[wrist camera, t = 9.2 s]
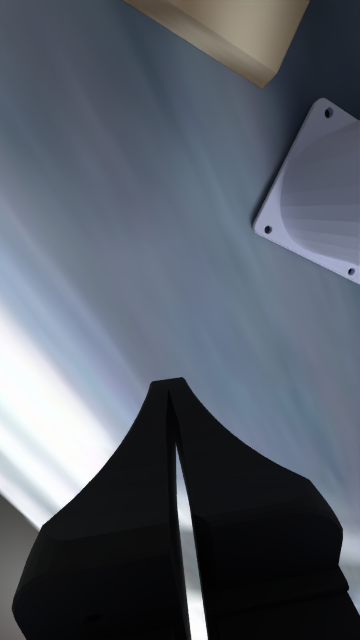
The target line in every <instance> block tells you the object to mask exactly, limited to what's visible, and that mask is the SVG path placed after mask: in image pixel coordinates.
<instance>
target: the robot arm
mask: <svg viewBox="0 0 360 640" xmlns="http://www.w3.org/2000/svg"><path fill="white" fill-rule="evenodd" d="M325 110H328V111H329V118H326V117H325ZM266 226H269V227H270V231H269V232H268V233H265V231H264V229H265V227H266ZM252 227H253V231H254V232H255V233H256V234H258V235H260V236H262V237H264V238H266V239H268V240H270V241H272V242H274V243H276V244H278V245H280V246H282V247H284V248H286V249H288V250H290V251H292V252H294V253H297V254H299V255H301V256H303V257H305V258H307V259H309V260H311V261H313V262H315V263H317V264H319V265H321V266H323V267H325V268H327V269H329V270H331V271H333V272H335V273H337V274H339V275H341V276H343V277H345V278H347V279H349V280H351V281H353V282H355V283H358V284H360V120H357V119H356V118H354V117H353V116H351V115H350V114H348V113H347V112H345V111H344V110H342V109H341V108H339V107H338V106H336V105H335V104H333V103H332V102H330V101H329V100H327V99H325V98H320V99H319V100H317V101H316V102H314V103H313V105H312V106H311V108H310V110H309V112H308V114H307V116H306V118H305V120H304V123H303V125H302V127H301V129H300V131H299V133H298V135H297V137H296V139H295V141H294V143H293V145H292V147H291V149H290V151H289V153H288V155H287V157H286V159H285V161H284V163H283V165H282V167H281V169H280V171H279V173H278V175H277V177H276V179H275V181H274V183H273V185H272V187H271V189H270V191H269V193H268V195H267V197H266V199H265V201H264V203H263V205H262V207H261V209H260V211H259V213H258V215H257V217H256V219H255V221H254V223H253V226H252ZM349 269H351V272H350V273H349V274H348V270H349ZM176 446H177V451H178V455H179V460H180V464H181V468H182V473H183V477H184V482H185V486H186V491H187V495H188V500H189V506H190V512H191V519H192V527H193V534H194V541H195V548H196V556H197V563H198V570H199V577H200V585H201V592H202V599H203V606H204V614H205V621H206V628H207V636H208V640H360V615H359V613H358V611H357V609H356V607H355V606H354V604H353V602H352V600H351V598H350V596H349V594H348V592H347V591H348V590H349V585H348V582H347V580H346V578H345V576H344V575H343V573H342V571H341V569H340V567H339V565H338V564H339V558H340V553H341V547H342V541H343V528H342V526H341V524H340V522H339V520H338V518H337V517H336V515H335V513H334V512H333V510H332V509H331V507H330V506H329V504H328V503H327V502H326V500H325V499H324V498H323V496H322V495H321V494H320V492H319V491H318V490H317V489H316V487H315V486H314V485H313V484H312V482H311V481H310V480H309V479H307V478H305V477H303V476H301V475H299V474H297V473H295V472H292V471H290V470H288V469H286V468H284V467H282V466H280V465H278V464H276V463H275V462H273V461H271V460H270V459H268V458H266V457H264V456H263V455H261V454H260V453H258V452H257V451H255V450H254V449H252V448H251V447H249V446H248V445H246V444H245V443H243V442H242V441H241V440H240V439H238V438H237V437H236V436H234V435H233V434H232V433H231V432H230V431H228V430H227V429H226V428H225V427H224V426H223V425H222V424H221V423H220V422H219V421H217V420H216V419H215V418H214V416H213V415H212V414H211V413H210V412H209V411H208V410H207V409H206V408H205V407H204V406H203V404H202V403H201V402H200V401H199V400H198V398H197V397H196V396H195V394H194V393H193V392H192V390H191V389H190V387H189V386H188V384H187V382H186V380H185V379H184V378H183V377H180V378H173V379H166V380H159V381H153V382H152V383H151V384H150V387H149V390H148V393H147V396H146V398H145V401H144V403H143V405H142V407H141V409H140V411H139V414H138V416H137V417H136V419H135V421H134V423H133V425H132V426H131V428H130V430H129V432H128V433H127V435H126V436H125V438H124V439H123V441H122V442H121V444H120V445H119V447H118V448H117V450H116V451H115V452H114V454H113V455H112V456H111V457H110V459H109V460H108V461H107V463H106V464H105V465H104V466H103V468H102V469H101V470H100V471H99V472H98V473H97V475H96V476H95V477H94V478H93V479H92V480H91V481H90V482H89V483H88V484H87V485H86V486H85V487H84V488H83V489H82V490H81V491H80V493H79V494H77V495H76V496H75V497H74V498H73V499H72V500H71V501H70V502H69V503H68V504H67V505H66V506H64V507H63V508H62V509H61V510H60V511H59V512H58V513H57V514H55V515H54V516H53V517H52V518H51V519H50V520H49V521H47V522H46V523H45V524H44V525H43V526H42V527H41V530H40V532H39V534H38V536H37V538H36V541H35V543H34V545H33V547H32V549H31V552H30V554H29V556H28V559H27V561H26V564H25V567H24V570H23V573H22V576H21V578H20V582H19V584H18V587H17V590H16V593H15V596H14V599H13V604H12V612H13V615H14V618H15V621H16V622H17V624H18V626H19V628H20V629H21V631H22V633H23V635H24V636H25V638H26V640H191V632H190V623H189V614H188V604H187V595H186V586H185V577H184V567H183V558H182V548H181V539H180V529H179V520H178V510H177V485H176Z"/></svg>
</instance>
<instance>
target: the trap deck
mask: <svg viewBox="0 0 360 640" xmlns="http://www.w3.org/2000/svg"><path fill="white" fill-rule="evenodd" d="M123 1H125V2H126V3H128V4H129V5H131V6H133V7H134V8H136V9H137V10H139V11H140V12H142V13H144V14H145V15H147V16H148V17H150V18H151V19H153V20H155V21H156V22H158V23H159V24H161V25H162V26H164V27H165V28H167V29H169V30H170V31H172V32H173V33H175V34H176V35H178V36H180V37H181V38H183V39H184V40H186V41H187V42H189V43H191V44H192V45H194V46H195V47H197V48H198V49H200V50H202V51H203V52H205V53H206V54H208V55H209V56H211V57H213V58H214V59H216V60H217V61H219V62H220V63H222V64H224V65H225V66H227V67H228V68H230V69H231V70H233V71H234V72H236V73H238V74H239V75H241V76H242V77H244V78H245V79H247V80H249V81H250V82H252V83H253V84H255V85H256V86H258V87H260V88H261V89H263V88H264V87H265V86H266V85H267V84H268V82H269V81H270V80H271V79H272V78H273V77H274V76H275V75H276V74H277V72H278V70H279V68H280V66H281V63H282V61H283V59H284V57H285V54H286V52H287V50H288V48H289V46H290V43H291V41H292V39H293V37H294V35H295V32H296V30H297V28H298V26H299V23H300V21H301V19H302V17H303V15H304V12H305V10H306V8H307V6H308V4H309V1H310V0H123Z"/></svg>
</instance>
